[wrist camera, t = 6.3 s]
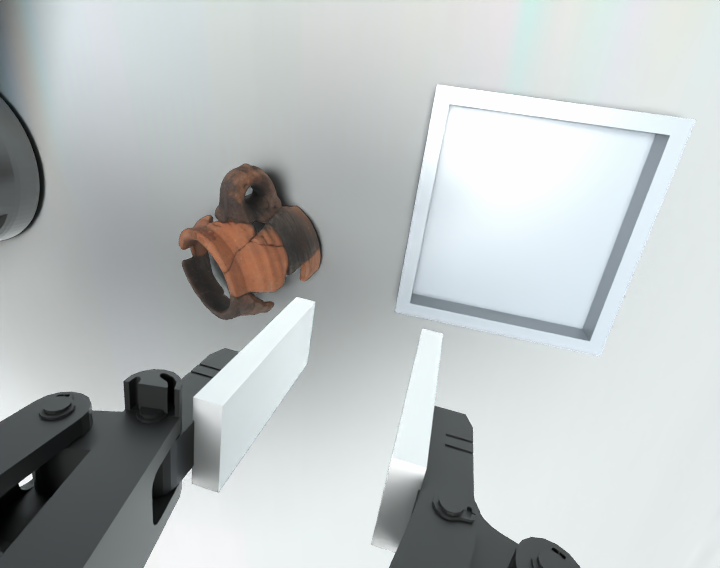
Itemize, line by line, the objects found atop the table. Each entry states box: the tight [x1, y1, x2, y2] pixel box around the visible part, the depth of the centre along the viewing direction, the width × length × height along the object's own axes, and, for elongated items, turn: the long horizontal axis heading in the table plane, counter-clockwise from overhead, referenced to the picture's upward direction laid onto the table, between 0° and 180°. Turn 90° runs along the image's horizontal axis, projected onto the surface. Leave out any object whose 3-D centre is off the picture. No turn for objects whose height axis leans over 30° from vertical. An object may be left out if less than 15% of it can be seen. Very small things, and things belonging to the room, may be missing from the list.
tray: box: [395, 85, 696, 356], centre depth 30 cm, size 15×16×2 cm
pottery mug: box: [179, 164, 321, 320], centre depth 33 cm, size 12×9×8 cm
